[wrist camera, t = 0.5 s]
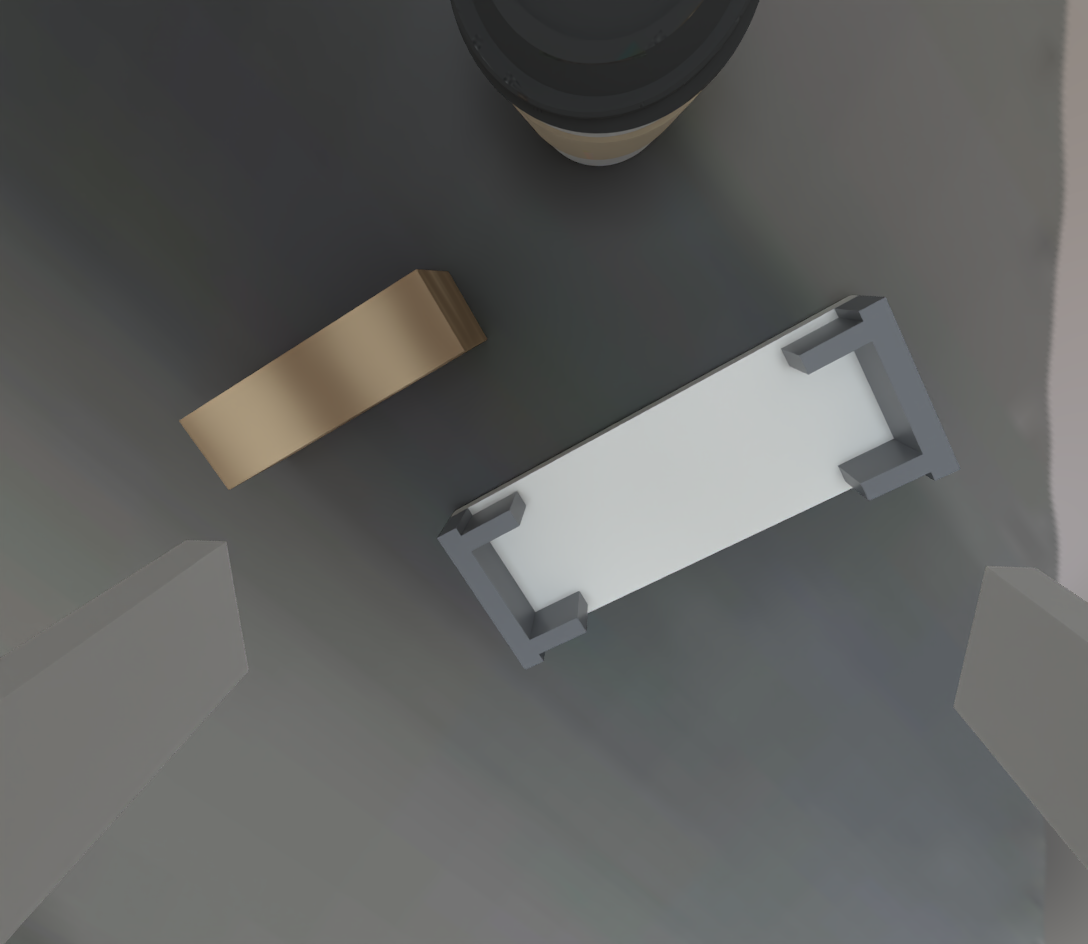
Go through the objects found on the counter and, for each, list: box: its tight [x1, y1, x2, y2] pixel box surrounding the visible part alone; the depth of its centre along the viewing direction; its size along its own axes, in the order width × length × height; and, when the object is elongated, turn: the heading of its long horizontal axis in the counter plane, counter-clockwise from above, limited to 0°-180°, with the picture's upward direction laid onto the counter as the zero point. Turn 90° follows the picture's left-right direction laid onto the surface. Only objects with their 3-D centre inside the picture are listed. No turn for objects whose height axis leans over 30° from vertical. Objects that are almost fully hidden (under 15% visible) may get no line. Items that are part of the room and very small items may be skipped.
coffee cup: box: [450, 0, 759, 166], centre depth 22 cm, size 9×9×15 cm
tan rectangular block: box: [179, 269, 487, 490], centre depth 31 cm, size 14×4×6 cm, turn 120°
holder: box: [437, 295, 960, 670], centre depth 32 cm, size 9×24×4 cm, turn 121°
